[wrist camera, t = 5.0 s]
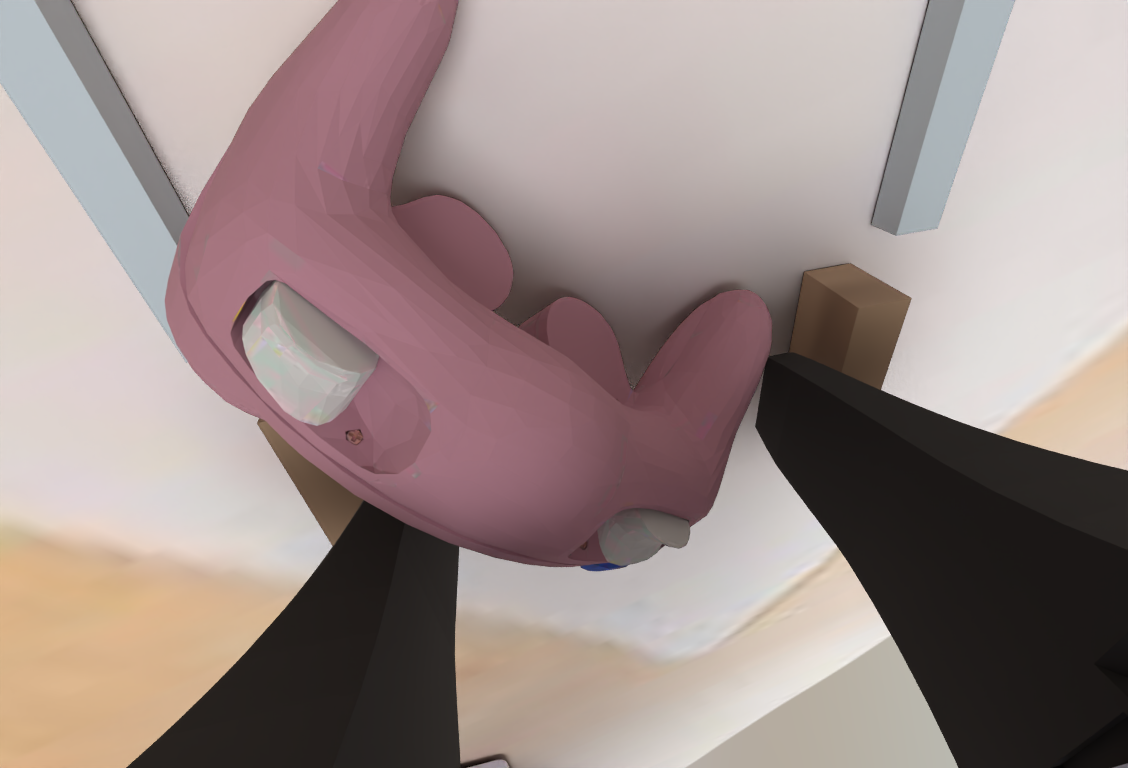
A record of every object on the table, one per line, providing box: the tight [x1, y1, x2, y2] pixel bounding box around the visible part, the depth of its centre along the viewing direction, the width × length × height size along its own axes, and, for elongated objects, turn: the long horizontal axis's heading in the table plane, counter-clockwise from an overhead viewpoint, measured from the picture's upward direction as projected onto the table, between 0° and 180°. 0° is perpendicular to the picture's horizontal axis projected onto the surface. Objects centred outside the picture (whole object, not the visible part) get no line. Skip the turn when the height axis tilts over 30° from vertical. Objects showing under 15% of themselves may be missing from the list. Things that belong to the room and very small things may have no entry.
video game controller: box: [165, 0, 772, 571], centre depth 9 cm, size 10×5×7 cm, turn 47°
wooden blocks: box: [257, 263, 912, 546], centre depth 12 cm, size 5×13×2 cm, turn 96°
